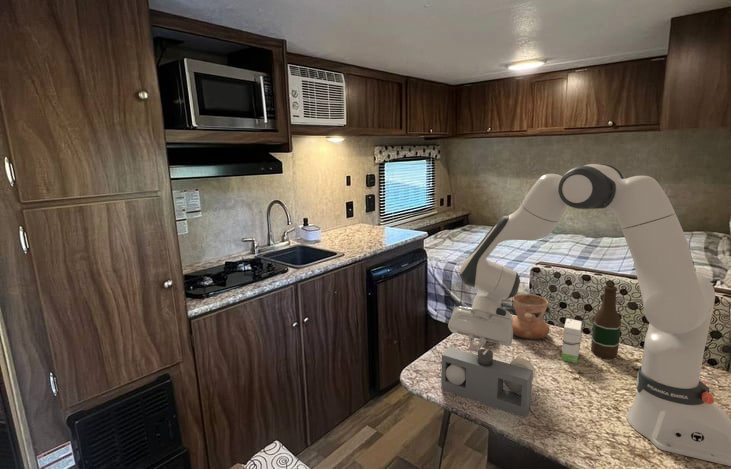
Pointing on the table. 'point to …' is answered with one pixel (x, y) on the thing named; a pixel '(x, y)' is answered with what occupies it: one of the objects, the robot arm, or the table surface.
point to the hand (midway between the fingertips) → (473, 350)
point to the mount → (489, 382)
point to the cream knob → (521, 363)
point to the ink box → (571, 340)
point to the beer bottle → (606, 326)
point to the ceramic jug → (529, 316)
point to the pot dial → (485, 357)
